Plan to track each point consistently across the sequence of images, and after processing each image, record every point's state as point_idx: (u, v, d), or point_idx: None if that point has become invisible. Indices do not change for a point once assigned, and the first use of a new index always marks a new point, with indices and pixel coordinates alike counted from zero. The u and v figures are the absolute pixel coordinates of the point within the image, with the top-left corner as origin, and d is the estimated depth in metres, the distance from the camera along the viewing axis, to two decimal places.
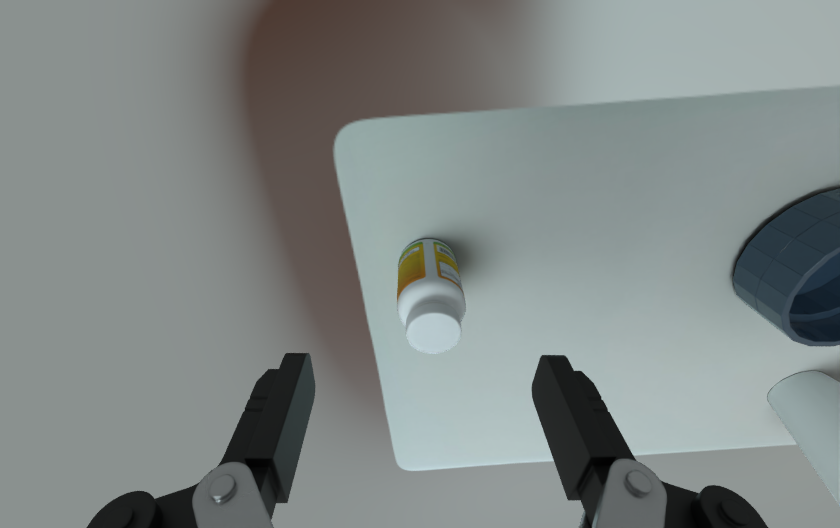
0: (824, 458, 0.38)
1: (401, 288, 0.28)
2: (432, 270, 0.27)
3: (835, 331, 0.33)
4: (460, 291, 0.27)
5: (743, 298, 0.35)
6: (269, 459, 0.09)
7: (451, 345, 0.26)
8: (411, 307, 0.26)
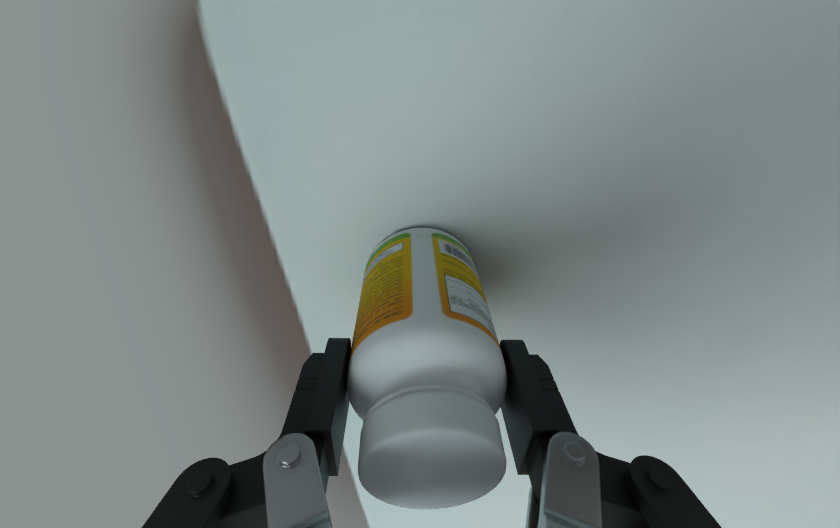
0: None
1: (357, 338, 0.12)
2: (429, 297, 0.12)
3: None
4: (496, 348, 0.11)
5: None
6: (327, 432, 0.09)
7: (477, 494, 0.10)
8: (376, 392, 0.11)
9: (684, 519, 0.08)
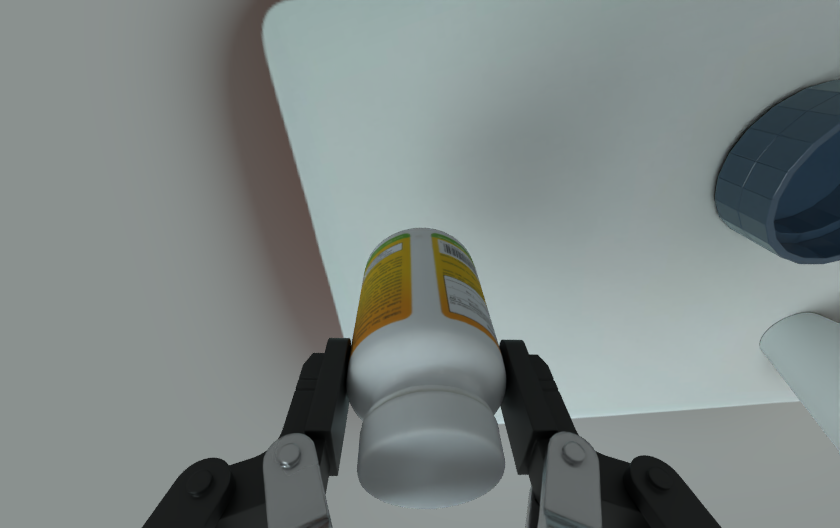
0: (820, 398, 0.35)
1: (356, 339, 0.12)
2: (428, 297, 0.12)
3: (827, 248, 0.30)
4: (495, 349, 0.11)
5: (726, 218, 0.32)
6: (327, 432, 0.09)
7: (476, 494, 0.10)
8: (375, 392, 0.11)
9: (684, 519, 0.08)
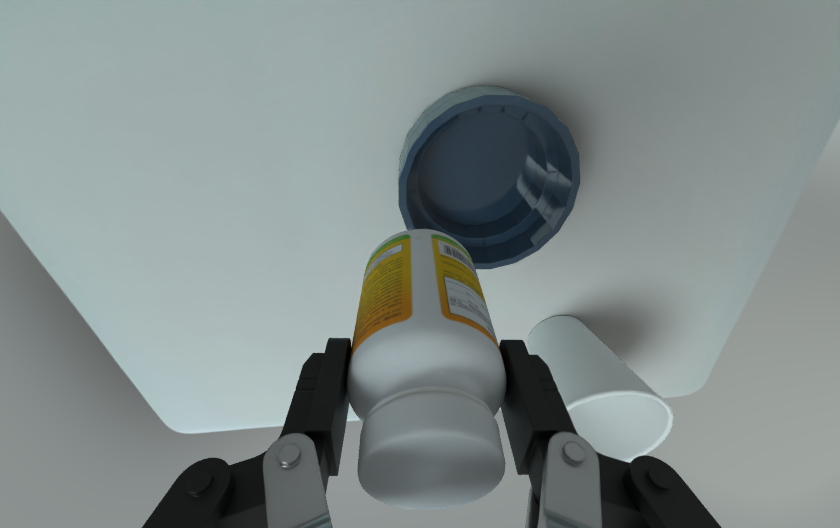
0: None
1: (356, 340, 0.12)
2: (428, 299, 0.12)
3: (500, 253, 0.30)
4: (495, 350, 0.11)
5: None
6: (327, 432, 0.09)
7: (476, 495, 0.10)
8: (376, 394, 0.11)
9: (684, 519, 0.08)
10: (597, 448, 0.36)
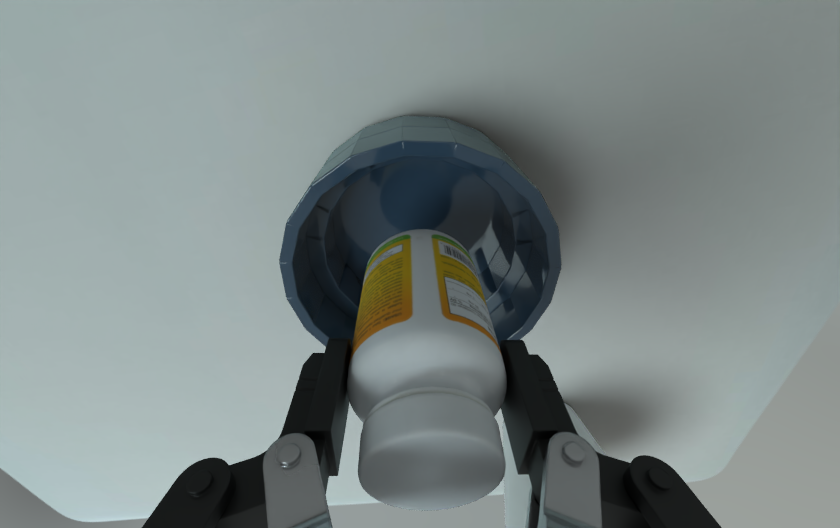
0: None
1: (357, 340, 0.12)
2: (429, 299, 0.12)
3: None
4: (496, 350, 0.11)
5: None
6: (327, 432, 0.09)
7: (477, 495, 0.10)
8: (376, 394, 0.11)
9: (684, 519, 0.08)
10: None
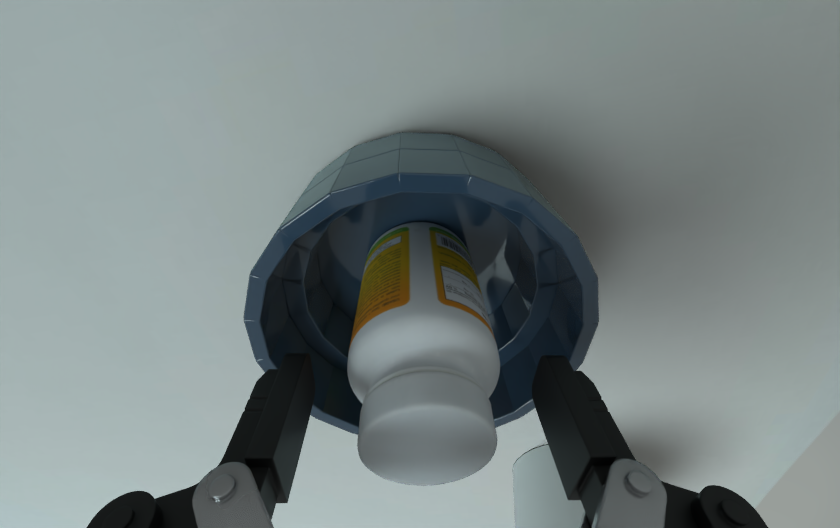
0: None
1: (357, 325, 0.13)
2: (425, 286, 0.12)
3: None
4: (489, 334, 0.12)
5: None
6: (269, 459, 0.09)
7: (470, 470, 0.11)
8: (375, 375, 0.11)
9: None
10: None
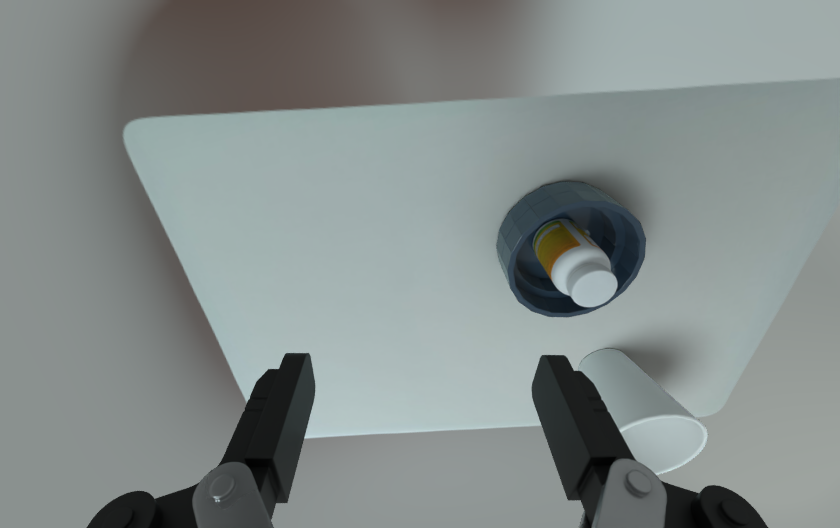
0: None
1: (556, 255, 0.34)
2: (583, 240, 0.33)
3: (574, 304, 0.39)
4: (607, 257, 0.33)
5: None
6: (269, 459, 0.09)
7: (605, 300, 0.32)
8: (570, 269, 0.32)
9: None
10: (641, 459, 0.44)
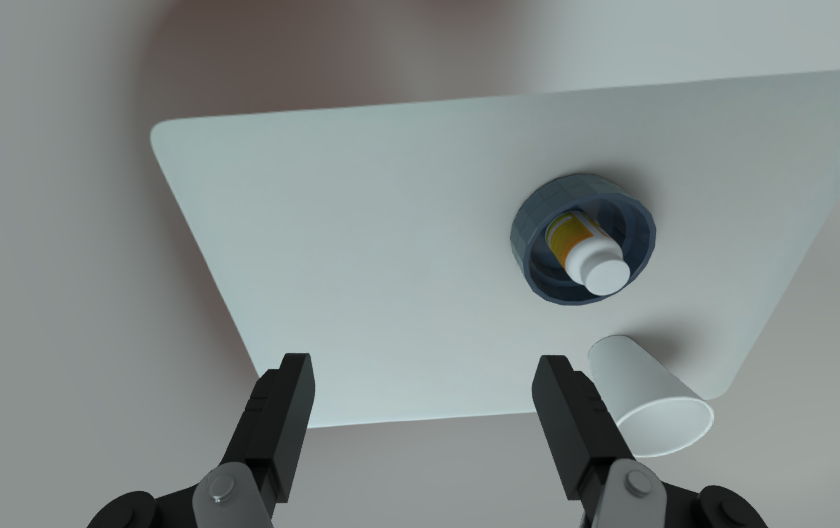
0: None
1: (570, 246, 0.35)
2: (596, 231, 0.35)
3: (586, 293, 0.40)
4: (619, 247, 0.34)
5: None
6: (269, 459, 0.09)
7: (618, 288, 0.33)
8: (584, 259, 0.34)
9: None
10: (649, 440, 0.46)
